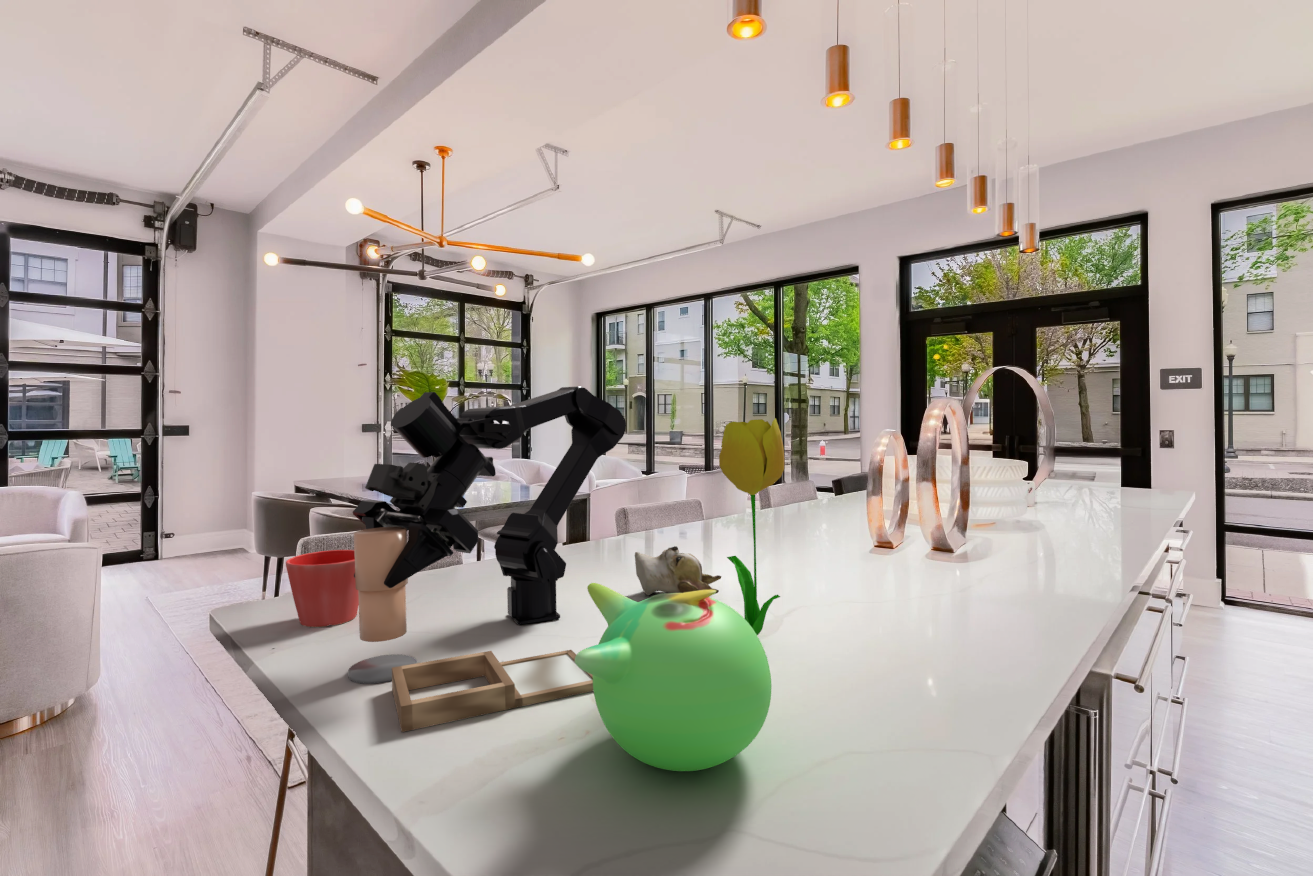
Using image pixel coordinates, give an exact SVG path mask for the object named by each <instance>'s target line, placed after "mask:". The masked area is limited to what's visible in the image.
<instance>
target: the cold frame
mask: <svg viewBox="0 0 1313 876" xmlns="http://www.w3.org/2000/svg"><path fill="white" fill-rule="evenodd" d="M576 655H577V653H575V652H574V651H573V650H572V649H569V650H568V649H567V650H561V651H557V652H552V653H550V652H549V653H545V654H539V655H533V656H528V657H523V658H515V659H513V660H512V659H511V660H506V661H499V659H498V658H497V656H496V655H495V654H494V653H493V651H492V650H487V651H482V652H481V651H480V652H477V653H476V652H475V653H468V654H465V655H464V654H463V655H458V656H453V657H446V658H441V659H435V660H430V661H429V660H428V661H423V662H417V663H416V664H410V665H404V666H399V667H393V668H392V681H391V691H392V695H393V701H394V704H395V708H396V709H395V710H396V714H397V717H398V722H399V726H400V730H401V731H400V732H401V733H404V732H408V731H413V730H418V729H424V728H428V727H432V726H437V725H441V724H445V723H451V722H455V721H460V720H465V719H469V718H474V717H478V716H483V715H487V714H493V713H498V712H502V711H507V710H512V709H515V708H521V707H525V706H530V705H534V704H535V705H536V704H539V703H544V702H549V701H553V700H558V699H561V698H566V697H571V696H572V697H573V696H576V695H581V694H586V693H590V692H591V693H592V692H594V690H593V675H592V674H590V673H588V672H586V671H584V670H582V669H580V668H579V667H578V666H577V665H576V663H575V657H576ZM481 677H485V679H486V680H487V682H488V683H489V684H488V685H484V686H483V685H482V686H478V687H473V688H467V689H462V690H457V691H452V692H447V693H442V694H437V695H436V694H435V695H431V696H427V697H421V698H416V699H411V696H410V692H409V691H412V690H416V689H423V688H428V687H433V686H438V685H444V684H448V683H455V682H458V681H459V682H460V681H465V680H471V679H475V678H481Z"/></svg>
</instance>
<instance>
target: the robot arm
mask: <svg viewBox="0 0 1313 876" xmlns="http://www.w3.org/2000/svg"><path fill="white" fill-rule="evenodd" d="M561 417H565V421H566V423H567V424H568V425H569V426H570V427H571V444H570V447H569V448H568V449H567V451H566V453H565V454H564V456H563V458H562V459H561V461H560V462H559V464H558V465H557V467H556V468H555V470H554V471H553V473H552V474H551V476H550V477H549V479H548V480H547V482H546V484H545V485H544V487H543V489H542V490H541V492H540V493H539V494H538V497H537V498H536V499H535V501H534V503H533V504H532V506H531V507H530V509H529V510H528V511H526V512H525V513H520V512H511V513H510V514H509V516H507V519H506V521H505V523H504V524H503V526H502V527H501V529H499V530H497V532H496V535H498V537H497V538H496V540H495V542H494V546H493V547H494V549H495V551H494V552H495V554H494V555H495V559H496V560H497V563H498V565H499V567H500V570H501V572H502V576H503V577H510V586H508V587H507V588H506V591H507V596H506V597H507V614H508V615H509V616H510V617H511V618H512V620H513V621H514V623H516V624H517V625H525V624H533V623H539V622H544V621H545V622H546V621H553V620H559V619H560V618H561V614H560V613H558V611H557V582H558V580H560V579H561V578H563V577H564V576H565V572H566V567H567V562H566V561H565V560H564V559H563V558H562V557H561V556H560V554H559V553H558V552H557V551H556V548H557V546H558V542H559V541H558V526H559V524H560V522H561V520H562V518H563V516H564V515H565V513H566V512H567V510H568V509H569V507H570V505H571V504H572V502H573V500H574V499H575V497H576V496H577V493H578V492H579V490H580V488H581V486H582V485H583V483H584V481H585V480H586V479H587V477H588V475H589V473H590V472H591V471H592V470H591V469H592V468H593V467H594V465H595V463H596V462H597V460H598V459H599V458H600V457H602V456H603V455H605V454H606V453H608V452H609V451H612V450H613V449H614V448H615V447H616V446H617V444H618V443H619V442H620V441H621V440H622V438H623V437H624V434H625V432H626V430H627V422H626V419H625V416H624V415H623V413H622V411H620V409H619V408H615V406H614V405H612V404H611V403H609V402H608V401H605V400H604V399H601V398H599V397H597V396H595V395H594V394H593V393H592V392H591V391H590V390H588V388H586V387H583V386H565V387H564V386H563V387H560V388H559V389H557V390H555V391H552V392H549V393H545V394H542V395H539V396H536V397H533V398H528V399H526V400H523V401H520V402H517V403H514V404H511V405H503V406H491V407H490V406H489V407H488V406H487V407H474V408H468V409H466V410H465V411H463V412H462V413H461V414H460V417H455V415H453V414H452V412H451V411H450V410H449V409H448V407H447V406H446V405H445V404H444V403H443V400H442V399H441V397H440V396H439V395H438V394H437V393H436V392H435V391H430V392H429V391H426V392H424V393H423V394H422V395H421V396H420V397H418V398H416V399H414V400H412V401H410V402H409V403H407V404H406V405H405V406H404V407H400V408H399V409H398V410H397V411H396V412H395V414H394V415H393V417H392V419H391V422H390V425H391V428H393V429H394V431H396V432H397V434H398V435H400V437H402V439H403V440H404V441H405V442H406V443H407V444H408V445H409V446H410V447H411V448H412V449H413V450H414V451H415V452H416V453H417V454H418V455H419V457H422V458H425V459H426V458H430V457H431V458H435V459H434V461H433V462H432V464H430V466H429V467H428V466H426V465H424V464H422V463H420V462H408V463H407V464H406V465H405V466H404V467H403V466H402V465H394V464H391V463H390V464H388V463H387V464H386V463H385V464H384V463H374V464H373V467H372V469H371V472H370V474H369V477H368V478H367V479H368V480H367V482H366V485H365V487H364V488H365V490H368V491H370V492H374V491H375V492H378V493H380V494H383V495H385V496H388V497H390V498H391V499H390V500H389V502H390V503H391V505H393V506H394V507H395V508H398V509H399V510H398V512H397V510H395V509H394V508H393V507H392V506H391V505H390V504H389V503H388V502H387V501H384V500H375V499H368V500H361V501H360V502H359V503H358V505H357V506H356V508H354V510H353V511H352V515H353V516H354V517H356V518H357V520H359V521H360V522H361V523H362V524H363V525H364V526H365V529H371V528H380V527H402V528H406V529H407V531H408V535H407V544H406V545H405V547H404V549H403V550H402V552H401V554H400V555H399V557H398V558H397V560H396V562H395V563H394V565H393V566H392V568H391V570H390V571H389V573H388V575H387V577H386V579H385V581H384V585H386V586H387V587H388V588H392V587H394V586H396V585H397V584H399V583H401V582H402V581H404V580H406V579H407V578H408V579H409V578H411V577H412V576H414V575H416V574H417V573H419V572H421V571H422V570H424V569H426V568H427V567H429V566H432V565H433V564H435V563H436V562H439V561H440V560H442V559H445V558H447V557H451V556H453V554H454V551H453V550H455V552H456V553H464V554H471V553H472V552H473V550H474V548H475V547H476V545H477V544H478V542H479V530H478V529H477V528H476V526H475V525H473V524H472V523H471V521H469V519H467V517H466V516H465V515H464V514H463V513H462V512H461V511H460V510H459V509H458V508H464V507H465V506H466V504H467V503H468V501H467V500H466V499H465V498H464V496H465V494H466V493H467V492H468V490H469V489H470V487H471V485H472V484H473V483H474V482H475V480H476V479H477V478H478V477H496V474H497V473H496V467H495V465H494V458H493V457H492V456H485V454H484V453H483V452H482V451H481V450H480V449H482V450H483V449H486V450H489V449H490V450H501V449H505V448H508V447H509V446H510V445H512V444H514V443H515V442H516V441H518V440H520V439H521V438H522V436H523V434H524V433H525V432H527V431H528V430H529V429H532V428H534V427H535V428H536V427H538V426H540V425H543V424H545V423H548V422H551V421H553V420H556V419H559V418H561ZM452 547H453V550H452V549H451V548H452ZM354 578H355V573H354Z"/></svg>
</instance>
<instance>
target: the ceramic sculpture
mask: <svg viewBox="0 0 1313 876" xmlns="http://www.w3.org/2000/svg"><path fill="white" fill-rule="evenodd" d="M634 560H635V573H636V577H637V579H638V580H639V583H640V587H641V589H642V591H643V593H644V594H646V595H647V596H651V595H652V594H653V593H655V592H662V593H668V594H670V593H685V592H692V591H699V590H716V591H717V592H716V593H715V594H718V593H719V590H718V589H716V588H713V587H711V586H710V585H711V584H713V583H716V582H717V581H719V580H721V578H722V575H714V576H713V575H710V574H708V573H707V574H706V573H703V567H702V563H701V562H700V560H699V559H698V558H697V557H696V556H695V555H693V554H691V553H683V552H680V551H679V548H678V546H675V545H674V546H671V547H668V548H667V549H664V550H663V551H662V552H661V553H660V555H657V556H650V555H648V554H646V553H640V552H639V551H636V552H635V553H634ZM715 594H714V595H715Z"/></svg>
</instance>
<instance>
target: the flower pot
mask: <svg viewBox="0 0 1313 876" xmlns="http://www.w3.org/2000/svg"><path fill="white" fill-rule="evenodd" d="M285 567H286V573H287V577H288V580H289V585H290V590H291V595H292V599H293V602H294V605H295V608H296V613H297V617H298V620H299V623H300V625H301V626H303V627H307V628H325V627H329V626H337V625H343V624H345V623H348V622H351V621H352V620H354V619H355V618H356V617H357V615H358V612H359V595H358V590H357V589H356V588H355V578H354V573H355V553H354V549H332V550H321V551H314V552H309V553H308V552H307V553H304V554H299V555H296V556H293V557H290V558H289V559H287V560H286V561H285Z"/></svg>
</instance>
